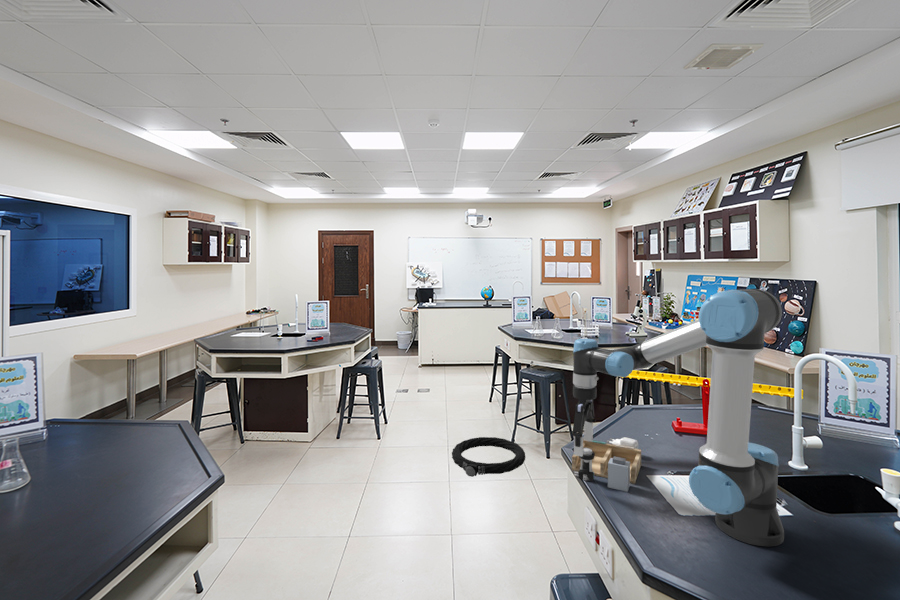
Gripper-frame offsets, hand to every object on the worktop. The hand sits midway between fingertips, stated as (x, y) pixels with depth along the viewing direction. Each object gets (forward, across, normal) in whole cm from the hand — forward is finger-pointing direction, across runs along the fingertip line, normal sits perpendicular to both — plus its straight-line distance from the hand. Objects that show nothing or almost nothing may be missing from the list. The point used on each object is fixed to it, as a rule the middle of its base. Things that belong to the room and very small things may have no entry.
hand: (583, 447), depth 145 cm
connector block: (+10, 0, -12) cm, 15 cm away
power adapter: (+11, +28, -8) cm, 31 cm away
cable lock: (+12, -3, +34) cm, 36 cm away
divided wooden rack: (+10, +12, -6) cm, 16 cm away
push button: (+11, 0, 0) cm, 11 cm away
